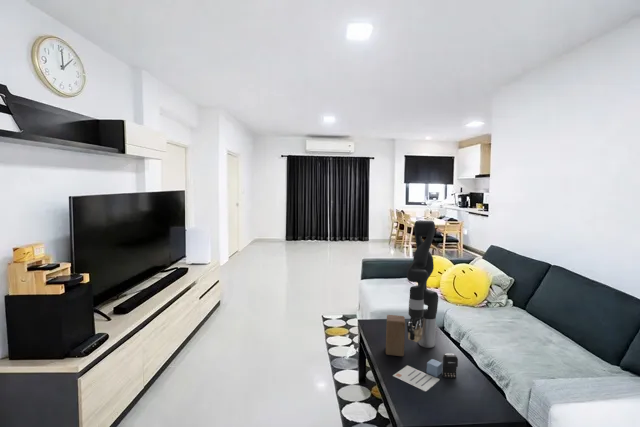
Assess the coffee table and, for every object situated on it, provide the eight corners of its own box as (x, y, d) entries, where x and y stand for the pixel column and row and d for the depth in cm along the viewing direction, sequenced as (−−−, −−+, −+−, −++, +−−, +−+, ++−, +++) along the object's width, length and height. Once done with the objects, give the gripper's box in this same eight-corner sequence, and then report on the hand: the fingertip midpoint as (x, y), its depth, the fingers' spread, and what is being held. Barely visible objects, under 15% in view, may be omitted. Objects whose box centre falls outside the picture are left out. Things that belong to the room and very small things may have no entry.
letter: (407, 365, 182) (407, 365, 182) (439, 379, 169) (439, 379, 169) (392, 375, 172) (392, 375, 172) (425, 391, 159) (425, 391, 159)
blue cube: (431, 368, 179) (432, 358, 179) (441, 373, 175) (442, 362, 175) (426, 372, 175) (427, 362, 175) (436, 377, 171) (437, 366, 171)
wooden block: (403, 357, 191) (405, 322, 189) (385, 355, 192) (386, 320, 191) (403, 348, 200) (404, 315, 199) (385, 347, 202) (386, 313, 201)
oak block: (413, 336, 185) (413, 325, 184) (421, 339, 181) (422, 328, 181) (408, 339, 181) (408, 328, 181) (416, 342, 178) (417, 331, 177)
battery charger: (443, 379, 170) (444, 356, 169) (441, 374, 174) (442, 353, 173) (458, 379, 170) (459, 357, 168) (455, 375, 173) (456, 353, 172)
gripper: (416, 301, 187) (415, 331, 189) (402, 308, 177) (401, 340, 179) (429, 305, 182) (428, 336, 183) (415, 312, 172) (414, 344, 173)
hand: (414, 337), depth 181 cm, fingers closed on oak block, 5 cm apart
